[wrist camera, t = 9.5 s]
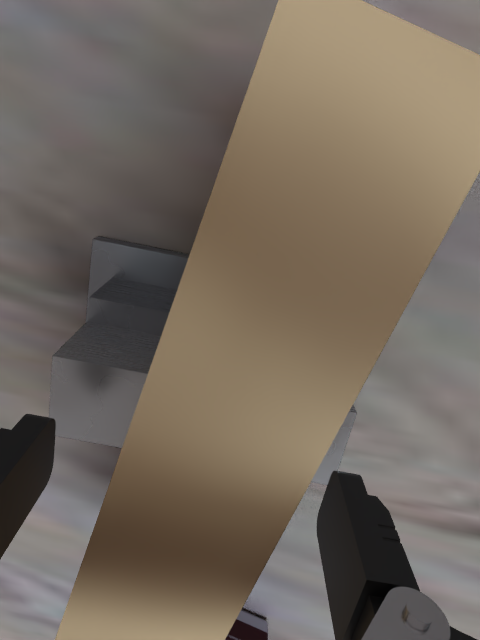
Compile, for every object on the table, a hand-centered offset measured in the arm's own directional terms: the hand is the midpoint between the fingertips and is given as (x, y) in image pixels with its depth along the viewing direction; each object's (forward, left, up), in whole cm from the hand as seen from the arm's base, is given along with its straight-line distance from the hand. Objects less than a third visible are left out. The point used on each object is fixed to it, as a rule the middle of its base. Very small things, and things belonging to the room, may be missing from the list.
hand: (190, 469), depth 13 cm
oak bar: (0, 0, -2) cm, 2 cm away
